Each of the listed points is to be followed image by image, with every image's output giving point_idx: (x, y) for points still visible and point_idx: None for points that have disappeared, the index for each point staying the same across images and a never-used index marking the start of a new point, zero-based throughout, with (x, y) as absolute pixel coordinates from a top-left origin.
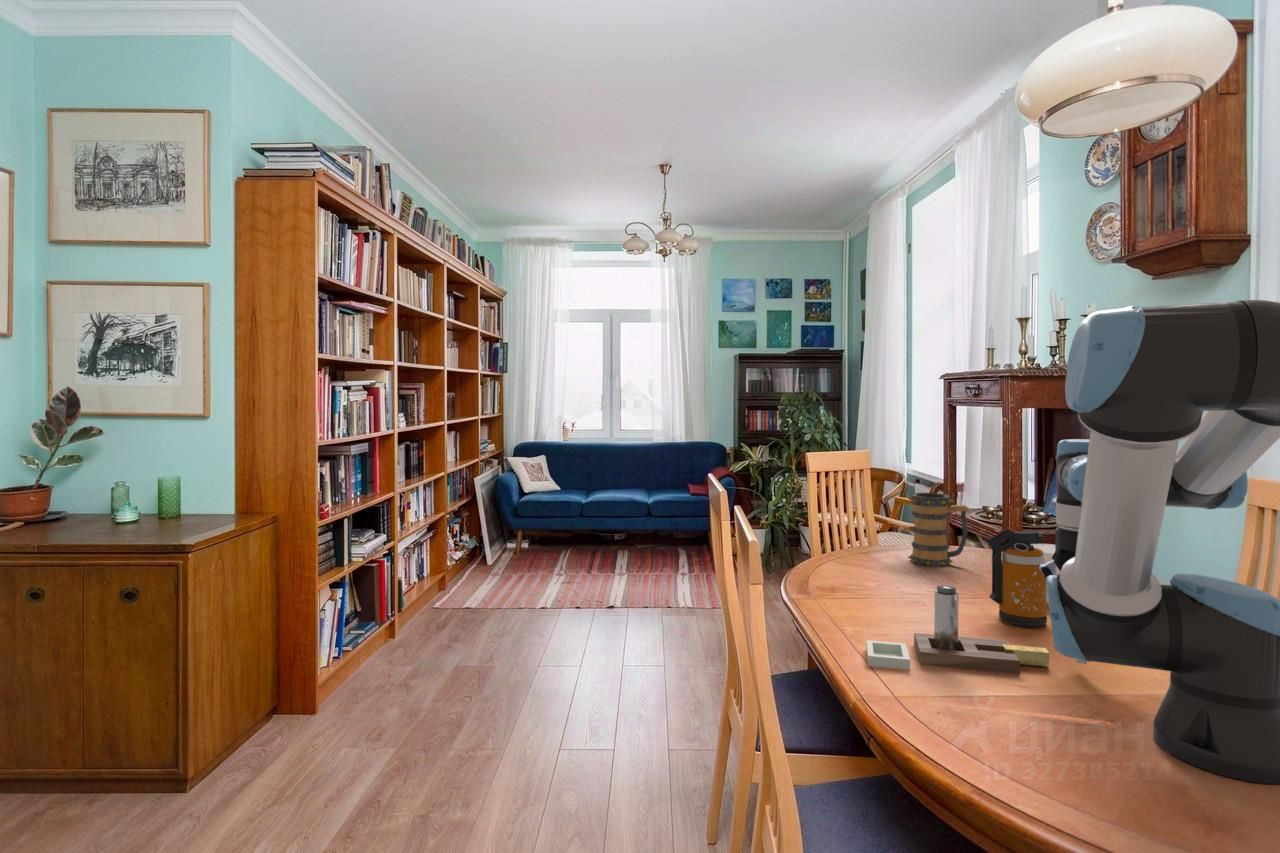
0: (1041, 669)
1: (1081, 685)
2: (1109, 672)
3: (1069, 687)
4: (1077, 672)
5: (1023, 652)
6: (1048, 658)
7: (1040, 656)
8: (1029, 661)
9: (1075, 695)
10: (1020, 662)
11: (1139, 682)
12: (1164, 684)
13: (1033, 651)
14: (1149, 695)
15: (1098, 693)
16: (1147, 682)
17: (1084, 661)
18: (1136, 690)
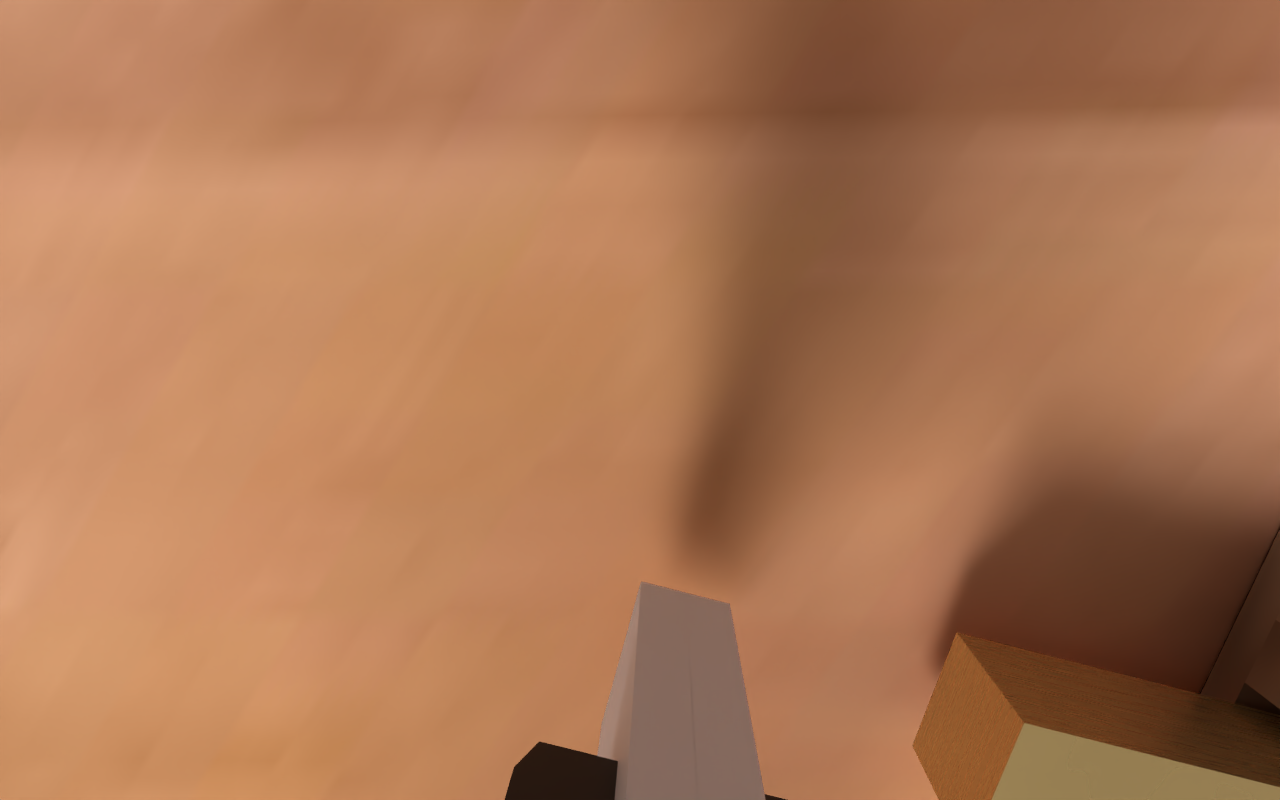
0: None
1: (825, 330)
2: (397, 601)
3: (969, 285)
4: None
5: (1270, 774)
6: (998, 683)
7: (1085, 710)
8: (1142, 697)
9: (1038, 100)
10: (1209, 704)
11: (261, 397)
12: (69, 356)
13: (1188, 763)
14: (336, 113)
15: (784, 151)
16: (191, 397)
17: (661, 599)
18: (389, 224)
